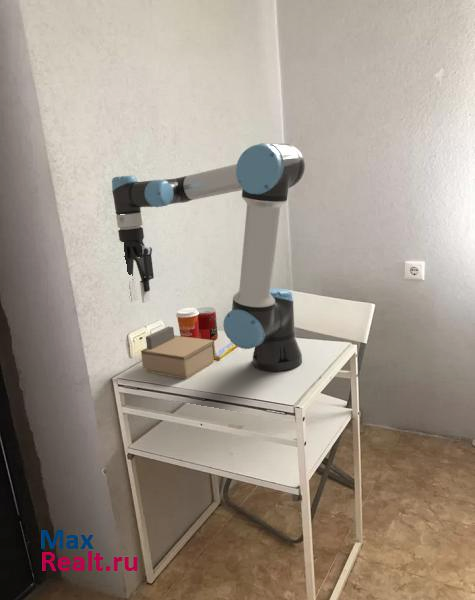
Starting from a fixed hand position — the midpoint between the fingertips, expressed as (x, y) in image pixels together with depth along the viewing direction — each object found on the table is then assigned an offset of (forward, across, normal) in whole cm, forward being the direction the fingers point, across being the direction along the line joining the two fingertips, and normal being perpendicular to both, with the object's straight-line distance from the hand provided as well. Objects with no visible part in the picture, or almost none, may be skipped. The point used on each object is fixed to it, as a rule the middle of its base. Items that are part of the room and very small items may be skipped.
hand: (140, 300), depth 163 cm
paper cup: (+21, +7, +15) cm, 26 cm away
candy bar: (+21, +20, +17) cm, 34 cm away
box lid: (+19, +14, 0) cm, 23 cm away
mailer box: (+21, +14, 0) cm, 25 cm away
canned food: (+21, +6, +26) cm, 34 cm away
